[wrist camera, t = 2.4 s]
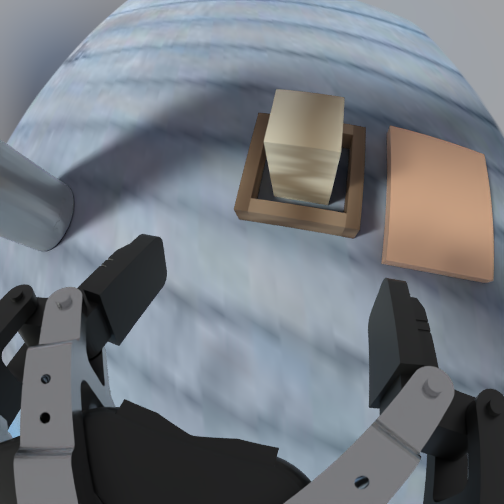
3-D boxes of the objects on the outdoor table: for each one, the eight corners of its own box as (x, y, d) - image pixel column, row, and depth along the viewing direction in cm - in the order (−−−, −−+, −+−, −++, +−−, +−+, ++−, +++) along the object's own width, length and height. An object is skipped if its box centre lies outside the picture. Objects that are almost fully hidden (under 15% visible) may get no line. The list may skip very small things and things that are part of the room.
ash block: (274, 196, 27) (263, 141, 18) (283, 151, 28) (276, 89, 19) (328, 205, 26) (340, 152, 17) (333, 158, 27) (344, 97, 18)
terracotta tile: (381, 263, 24) (386, 260, 22) (386, 133, 27) (390, 125, 25) (485, 283, 22) (493, 280, 20) (478, 160, 24) (484, 154, 23)
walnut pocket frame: (239, 219, 27) (233, 209, 24) (261, 127, 29) (258, 112, 26) (353, 238, 25) (359, 230, 22) (361, 141, 27) (365, 127, 24)
